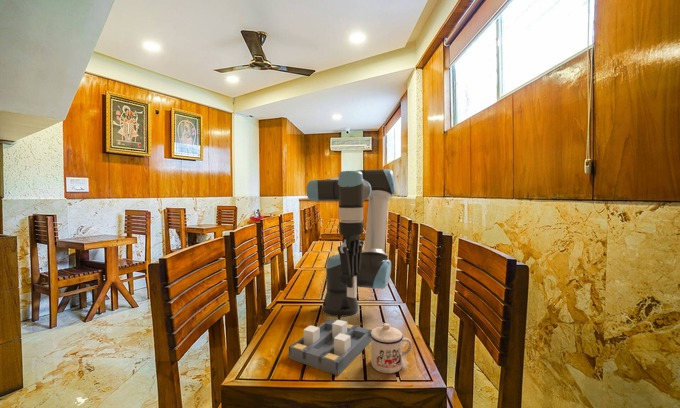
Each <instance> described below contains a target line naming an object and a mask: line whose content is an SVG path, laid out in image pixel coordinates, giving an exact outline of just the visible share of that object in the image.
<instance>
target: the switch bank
mask: <svg viewBox="0 0 680 408" xmlns="http://www.w3.org/2000/svg"><path fill="white" fill-rule="evenodd" d="M335 321H336V320H332V319H327V320H326V321H324V322H323V323H321V324H320V325H318V326H317V327H319V328H320V339H319V340H317V341H316V342H315V343H313V344H312V345H311V346H309V347H308V346H305V345H304V336H302V337H300V338H299V339H298V340H297V341H295V342H293V343H292V344H291V345H289V346H288V359H289V360H293V361H295V362H297V363H301V364H304V365H306V366H310V367H312V368H315V369H318V370H321V371H323V372H327V373H329V374H332V375H335V376H339V375H340V374H342V373H343V372H344V370H346V368H347V367H348V366H349V365H350V364H352V363H353V361H354V360H355V359H356V358H357V357H358V356H359V355H360V354H361V352H363V350H365V349H366V348H367V346H369V344H370V343H371V336H370V334H371V331H372V330H373V329H369V328H364V327H361V326H356V325H353V324H349V323H347V333H346V335H349V336H351V348H350V349H349V350H348V351H347V352H346V353H345V354H344V355H342V356H338V355H334V339H332V323H334V322H335Z"/></svg>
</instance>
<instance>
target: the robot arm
mask: <svg viewBox="0 0 680 408" xmlns="http://www.w3.org/2000/svg"><path fill="white" fill-rule="evenodd" d="M305 191H306V197H307V199H308V200H309V201H311V202H338V220H339V221H340V222H339V223H338V233H339V234H340V235H341V236H342V240H341V243H342V245H339V246H337V250H338V254H334V255H331V256H329V257H328V258H327V259H326V267H325V269H326V270H325V271H326V272H325V273H326V275H325V276H326V293H325V295H324V299H323V301H322V302H323V303H322V312H323V313H325V314H326V315H329V316H333V317H347V316H352V315H354V314H356V313H358V311H359V303H358V302H359V301H358V300H357V299H358V298H357V297H358V288H367V289H373V290H377V289H378V290H379V289H380V290H383V289H385V288H386V287H387V286H388V284H389V283H390V278H391V273H392V261H391V260H390V259H389V258H388V257H389V256H388V255H387V253H386V252H385V249H386V248H385V246H386V236H387V234H386V233H387V220H388V205H389V202H390V200H391V199H392V197H393V195H395V194H396V191H397V190H396V182H395V176H394V171H393V170H392V169H389V168H386V169H384V168H382V169H359V170H342V171H340V172H339V174H338V176H336V177H331V178H326V179H312V180H311V179H310V180H309V181H308V182H307V184H306V190H305ZM365 200H368V207H367V217H366V225H365V226H366V227H365V228H366V229H365V236H364V237H365V239H364V240H361V235H363V234H364V222H363V220H364V201H365Z"/></svg>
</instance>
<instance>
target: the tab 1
mask: <svg viewBox="0 0 680 408" xmlns="http://www.w3.org/2000/svg"><path fill="white" fill-rule="evenodd" d="M303 337H304V345H305V346H308V347H309V346H311V345H312V344H313V343H315V342H316V341H317V340H319V339H320V328H319V327H318V326H315V325H308V326H307V327H305V328H304V329H303Z"/></svg>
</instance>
